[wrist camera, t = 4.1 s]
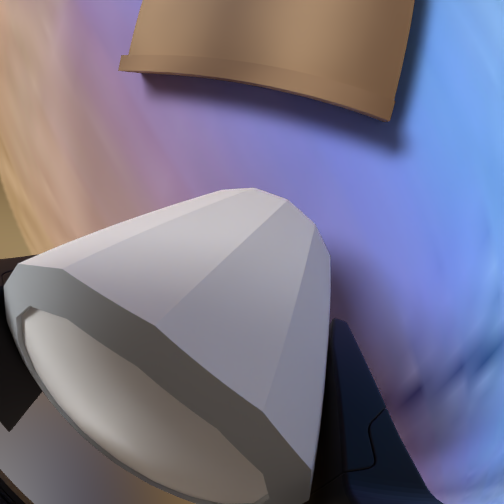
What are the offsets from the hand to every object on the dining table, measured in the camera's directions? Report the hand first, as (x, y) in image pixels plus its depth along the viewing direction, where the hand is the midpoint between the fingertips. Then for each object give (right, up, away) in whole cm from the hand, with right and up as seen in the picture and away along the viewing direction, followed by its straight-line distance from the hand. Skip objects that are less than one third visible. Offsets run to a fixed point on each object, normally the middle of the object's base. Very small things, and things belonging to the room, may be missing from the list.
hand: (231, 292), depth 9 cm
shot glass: (+1, +1, +2) cm, 2 cm away
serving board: (+2, +14, 0) cm, 14 cm away
